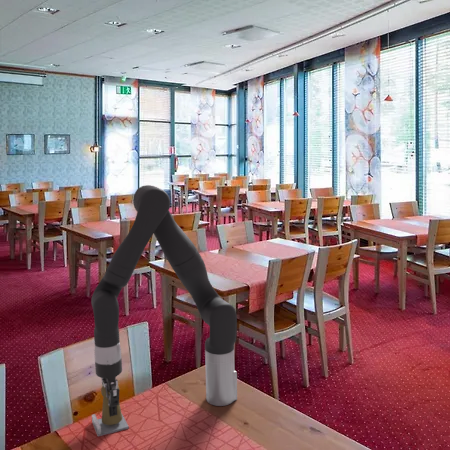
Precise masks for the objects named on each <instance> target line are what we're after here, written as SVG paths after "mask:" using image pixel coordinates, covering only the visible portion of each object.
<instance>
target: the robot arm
mask: <svg viewBox="0 0 450 450" xmlns="http://www.w3.org/2000/svg"><path fill="white" fill-rule="evenodd" d="M132 202H133V206H134V209H135V211H136V214H135V215H136V216H135V219H134V222H133V224H132V225H131V228H130V230H129V232H128V234H127V235H126V236H125V238H124V239H123V240H122V242H121V243H120V244H119V245H118V248H116V250H115V252H114V254H113V256H112V257H111V260H110V262H109V263H108V266H107V268H106V270H105V273H104V275H103V277H102V278H101V280H100V281H99V283H98V284H97V286H96V287H95V289H94V291H93V293H92V296H91V300H90V301H91V307H92V312H93V318H94V319H93V320H94V321H93V322H94V329H93V336H94V337H93V340H94V349H93V351H94V366H95V368H94V369H95V375H96V376H97V378H98V377H99V378H101V386H103V385H104V388H105V391H106V397H107V398H108V405H109V414H110V417H111V416H114V415H117V405H119V403H120V391H121V390H120V387H119V388H118V387H117V386H119V381H118V378H117V376H120V374H121V373H122V372H123V363H122V362H123V361H122V358H123V357H122V348H121V342H120V328H119V322H120V321H119V320H120V318H119V317H120V306H119V301H118V298H119V294H120V293H121V292H122V290H123V288H124V287H126V286H127V284H128V283H129V282H130V280H131V278H132V275H133V273H134V271H135V269H136V267H137V264H138V262H139V261H140V259H141V256H142V254H143V253H144V251H145V248H146V247H147V245H148V243H149V241H150V240H151V238H152V237H153V235H154V237H155V238H156V240H157V242H158V244H159V246H160V249H161V250H162V252H163V255H164V256H165V257H166V260H167V262H168V264H169V265H170V267H171V268H172V271H174V273H175V275H176V276H177V278H178V279H179V281H180V282H181V284H182V286H184V287H185V289H186V290H187V292H188V293H189V294H190V296H191V298H192V300H193V302H194V305H195V306H196V309H197V310H198V313H199V315H200V317H201V320H203V322H204V323H205V324H207V325H208V326H209V337H208V338H206V339H205V341H204V356H205V357H204V358H205V399H206V402H207V403H208V404H210V405H212V406H217V407H222V406H223V407H224V406H228V405H231V404H232V403H234V402H235V401H237V400H238V373H237V371H236V370H235V343H236V341H237V328H238V319H237V318H238V316H237V311H236V309H235V307H234V306H233V305H232V304H231V303H229V302H227V301H226V300H224V299H223V298H222V297H221V296H220V295H219V294H218V292H217V291H216V290H215V289H214V286H213V285H212V284H211V282H210V279H209V276H208V271H207V267H206V264H205V261H204V259H203V257H202V256H201V254H200V252H199V249H197V247H196V245H195V244H194V242H193V241H192V240H191V239H190V237H189V236H188V235H187V234H186V233H185V232H184V230H183V229H182V228H181V227H180V226H179V225H178V223H177V222H176V221H175V218H174V217H173V216H172V213H171V212H170V208H171V198H170V196H169V194H168V193H167V192H166V191H165V190H164V189H162V188H159V187H158V186H154V185H149V184H147V185H146V184H145V185H142V186H140V187H138V188H137V189H136V190H135V192H134V194H133V199H132ZM107 389H108V390H107ZM108 392H109V393H110V395H108ZM113 412H114V413H113Z"/></svg>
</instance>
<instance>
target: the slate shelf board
mask: <svg viewBox="0 0 450 450" xmlns="http://www.w3.org/2000/svg"><path fill="white" fill-rule="evenodd" d="M97 420H98V422H99V425H100V427H101V436H106V435H109V434H113V433H116V432H120V431H125V430H127V429H129V424H128V422H127V420H126V418H125V417H124V415H123V414H122V420H121V421H120V422H119V423H117V424H113V425H106V424H104V423H102V417H101V418H97ZM101 436H100V437H101Z"/></svg>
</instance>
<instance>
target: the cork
mask: <svg viewBox="0 0 450 450" xmlns="http://www.w3.org/2000/svg"><path fill="white" fill-rule="evenodd" d="M101 386H102V385H101ZM117 387H118V388H119V389H120V386H119V385H118V386H117ZM107 390H108V389H107ZM100 391H101V393H100V394H101V395H102V410H101V418H102V423H104V424H106V425H113V424H117V423H119V422H120V421H121V420H122V415H123V413H122V409H121V405H120V404H121V403H120V402H119V405H117V415H114V416H111V417H110V414H109V405H108V398H107V397H106V391H105V388H104V385H103V386H102V387H101V390H100ZM108 395H110V393H109V392H108ZM113 413H114V412H113Z"/></svg>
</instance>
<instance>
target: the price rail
mask: <svg viewBox="0 0 450 450" xmlns="http://www.w3.org/2000/svg"><path fill="white" fill-rule="evenodd" d="M97 419H98V418H97V415H96V414H95V413H94V414H91V422H92V425H93V428H94V431H95V433H96V435H97V437H101V427H100V425H99V422H98V420H97Z"/></svg>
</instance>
